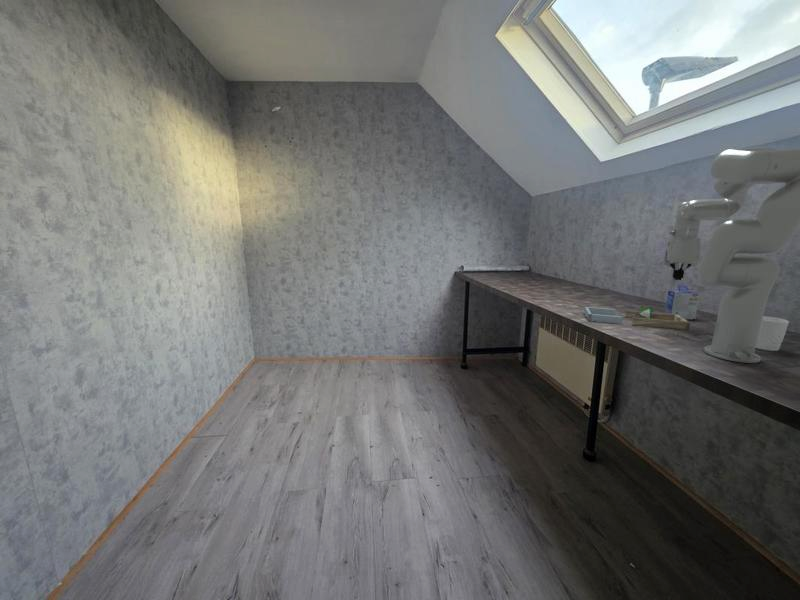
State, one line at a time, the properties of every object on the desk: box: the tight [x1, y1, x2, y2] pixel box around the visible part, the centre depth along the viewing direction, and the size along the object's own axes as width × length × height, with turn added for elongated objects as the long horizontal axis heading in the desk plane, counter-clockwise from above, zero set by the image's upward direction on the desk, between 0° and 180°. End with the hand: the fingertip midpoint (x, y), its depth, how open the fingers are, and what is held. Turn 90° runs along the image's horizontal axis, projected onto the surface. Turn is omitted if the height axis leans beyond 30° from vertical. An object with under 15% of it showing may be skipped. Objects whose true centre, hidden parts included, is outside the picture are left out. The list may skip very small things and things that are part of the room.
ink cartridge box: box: [664, 285, 701, 320], centre depth 145 cm, size 10×6×14 cm, turn 78°
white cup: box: [755, 315, 790, 352], centre depth 108 cm, size 8×8×10 cm
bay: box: [583, 306, 623, 325], centre depth 146 cm, size 15×12×3 cm
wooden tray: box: [624, 309, 691, 331], centre depth 138 cm, size 14×19×3 cm
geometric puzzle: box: [636, 306, 658, 319], centre depth 139 cm, size 7×7×8 cm
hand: (677, 279), depth 133 cm, fingers closed
